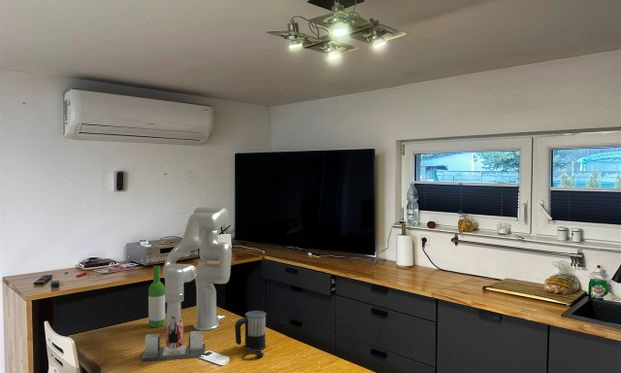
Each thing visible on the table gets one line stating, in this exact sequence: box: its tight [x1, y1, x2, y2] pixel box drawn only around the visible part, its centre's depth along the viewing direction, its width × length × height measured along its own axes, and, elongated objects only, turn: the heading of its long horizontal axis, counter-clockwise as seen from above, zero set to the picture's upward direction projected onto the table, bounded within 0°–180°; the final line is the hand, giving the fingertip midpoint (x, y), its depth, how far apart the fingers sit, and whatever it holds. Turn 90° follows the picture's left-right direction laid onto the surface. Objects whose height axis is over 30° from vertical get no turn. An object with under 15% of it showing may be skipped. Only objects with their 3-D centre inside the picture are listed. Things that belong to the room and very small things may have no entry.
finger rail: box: [140, 330, 206, 363], centre depth 180 cm, size 25×10×8 cm, turn 102°
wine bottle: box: [148, 265, 166, 328], centre depth 214 cm, size 8×8×30 cm
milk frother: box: [234, 310, 267, 357], centre depth 184 cm, size 14×16×15 cm
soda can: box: [165, 317, 184, 349], centre depth 180 cm, size 7×7×12 cm
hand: (174, 338), depth 180 cm, fingers closed on soda can, 7 cm apart
